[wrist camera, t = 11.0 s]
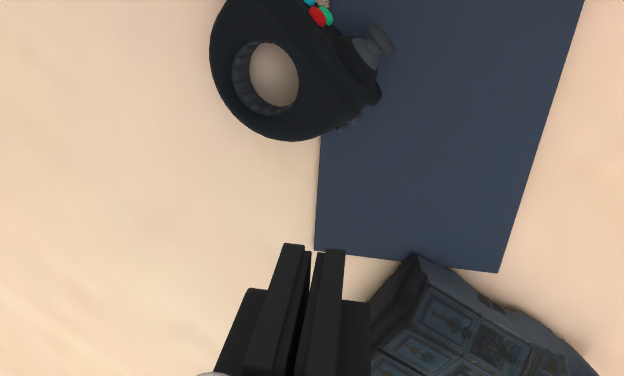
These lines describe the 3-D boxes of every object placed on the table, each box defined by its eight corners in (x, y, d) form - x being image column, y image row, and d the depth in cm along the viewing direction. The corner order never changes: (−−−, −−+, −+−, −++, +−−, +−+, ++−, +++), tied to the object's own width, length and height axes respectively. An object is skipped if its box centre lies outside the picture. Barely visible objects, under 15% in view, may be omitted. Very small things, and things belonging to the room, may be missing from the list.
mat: (335, -62, 23) (334, -63, 22) (595, -50, 21) (601, -52, 21) (314, 246, 32) (313, 250, 31) (495, 269, 30) (498, 274, 30)
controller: (277, 184, 25) (413, 85, 20) (141, 21, 23) (254, -133, 18) (299, 160, 28) (417, 71, 24) (184, 18, 27) (286, -110, 22)
